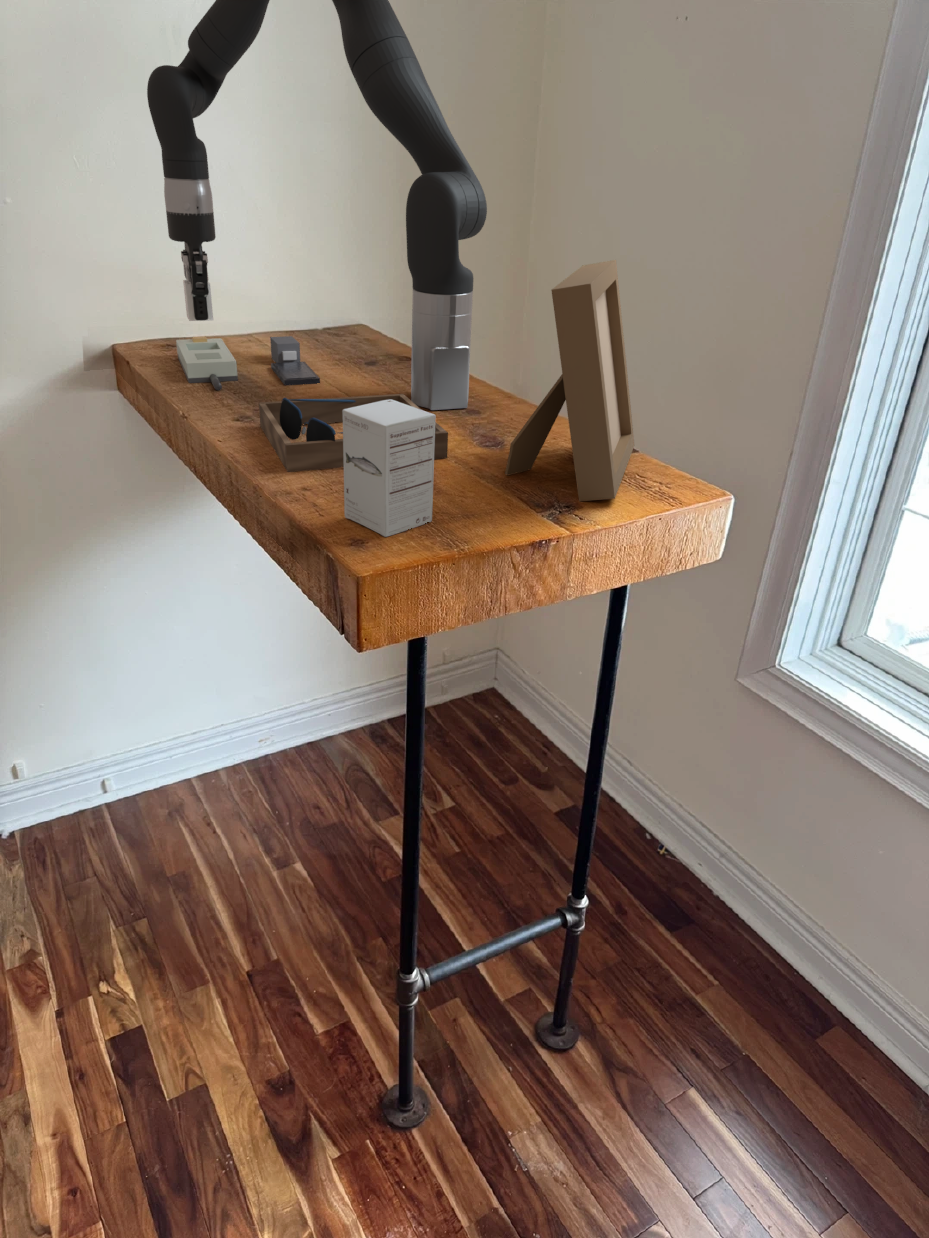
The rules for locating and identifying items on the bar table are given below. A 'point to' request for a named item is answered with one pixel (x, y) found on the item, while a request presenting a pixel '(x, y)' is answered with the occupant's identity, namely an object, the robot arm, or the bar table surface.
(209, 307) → the charger
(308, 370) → the phone
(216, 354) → the strip
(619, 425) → the photo frame
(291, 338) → the plug
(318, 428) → the sunglasses
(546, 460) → the bar table surface
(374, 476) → the supplement box
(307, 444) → the valet tray
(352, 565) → the bar table surface
